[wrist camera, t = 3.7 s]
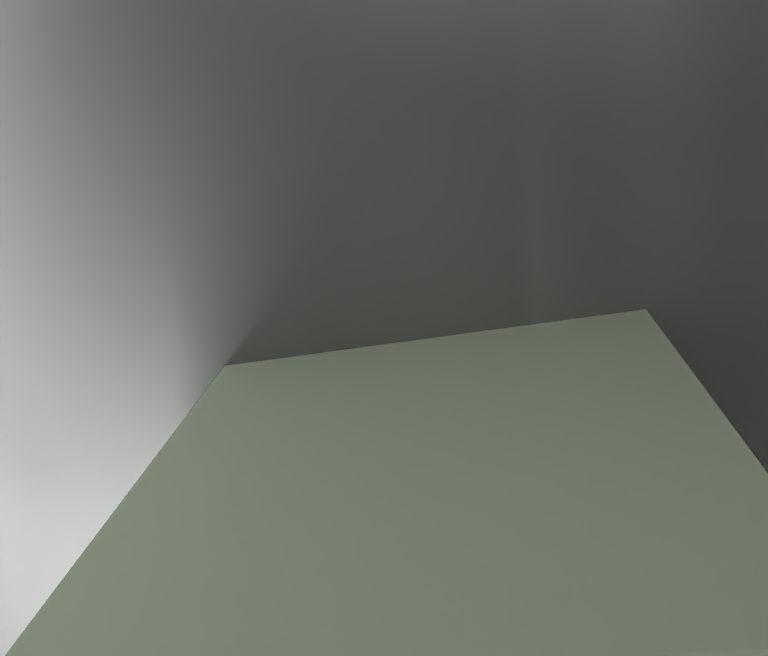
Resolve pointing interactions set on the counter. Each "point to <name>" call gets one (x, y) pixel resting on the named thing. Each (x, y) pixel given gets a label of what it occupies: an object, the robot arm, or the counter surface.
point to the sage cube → (436, 510)
